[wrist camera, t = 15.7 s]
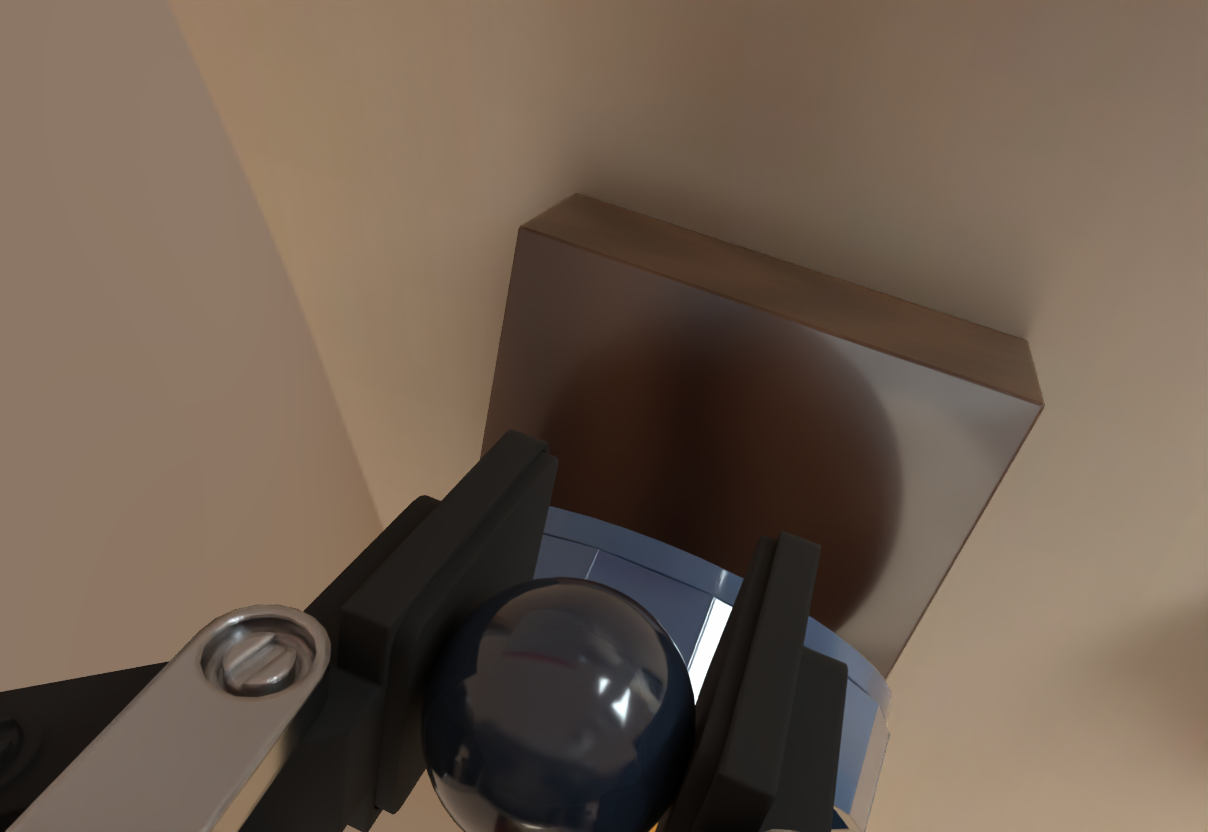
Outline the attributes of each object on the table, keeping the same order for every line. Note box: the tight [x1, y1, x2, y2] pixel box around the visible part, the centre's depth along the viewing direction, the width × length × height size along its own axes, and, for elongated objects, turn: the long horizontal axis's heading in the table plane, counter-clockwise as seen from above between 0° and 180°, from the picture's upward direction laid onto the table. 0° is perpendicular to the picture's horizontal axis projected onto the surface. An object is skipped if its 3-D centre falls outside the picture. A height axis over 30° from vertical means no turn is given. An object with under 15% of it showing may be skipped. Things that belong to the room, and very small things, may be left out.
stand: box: [480, 194, 1045, 681], centre depth 24 cm, size 13×12×4 cm
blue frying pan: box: [420, 506, 892, 832], centre depth 16 cm, size 12×19×6 cm
